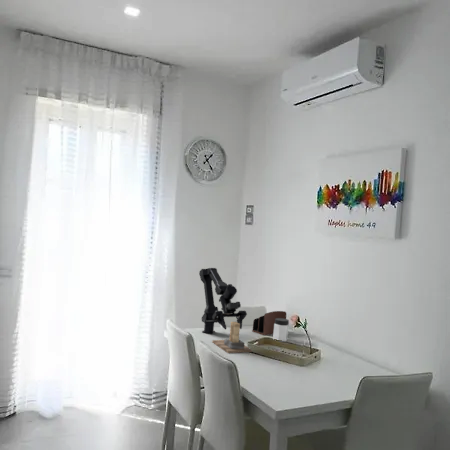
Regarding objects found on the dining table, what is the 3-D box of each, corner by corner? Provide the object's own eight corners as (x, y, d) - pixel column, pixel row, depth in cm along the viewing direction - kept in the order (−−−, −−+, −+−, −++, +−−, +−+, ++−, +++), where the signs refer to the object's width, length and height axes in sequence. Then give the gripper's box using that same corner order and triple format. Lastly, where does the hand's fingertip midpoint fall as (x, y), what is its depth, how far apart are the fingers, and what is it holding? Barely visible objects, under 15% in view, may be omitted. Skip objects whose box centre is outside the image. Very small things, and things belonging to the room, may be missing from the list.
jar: (290, 340, 286) (292, 320, 286) (280, 342, 281) (282, 321, 280) (279, 337, 293) (281, 317, 292) (270, 338, 288) (271, 318, 287)
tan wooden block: (228, 344, 261) (230, 321, 261) (233, 344, 262) (235, 321, 262) (233, 347, 257) (235, 324, 256) (238, 347, 258) (240, 323, 258)
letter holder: (285, 332, 307) (287, 310, 306) (263, 335, 294) (265, 312, 293) (274, 328, 314) (275, 307, 314) (252, 331, 301) (253, 309, 301)
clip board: (212, 342, 267) (212, 334, 267) (234, 341, 273) (235, 334, 273) (227, 353, 249) (228, 345, 249) (251, 351, 255) (252, 344, 255)
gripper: (216, 296, 261) (223, 321, 251) (247, 296, 269) (254, 320, 259) (209, 307, 268) (215, 332, 259) (239, 307, 276) (246, 331, 267)
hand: (233, 328), depth 261 cm, fingers open, 9 cm apart
